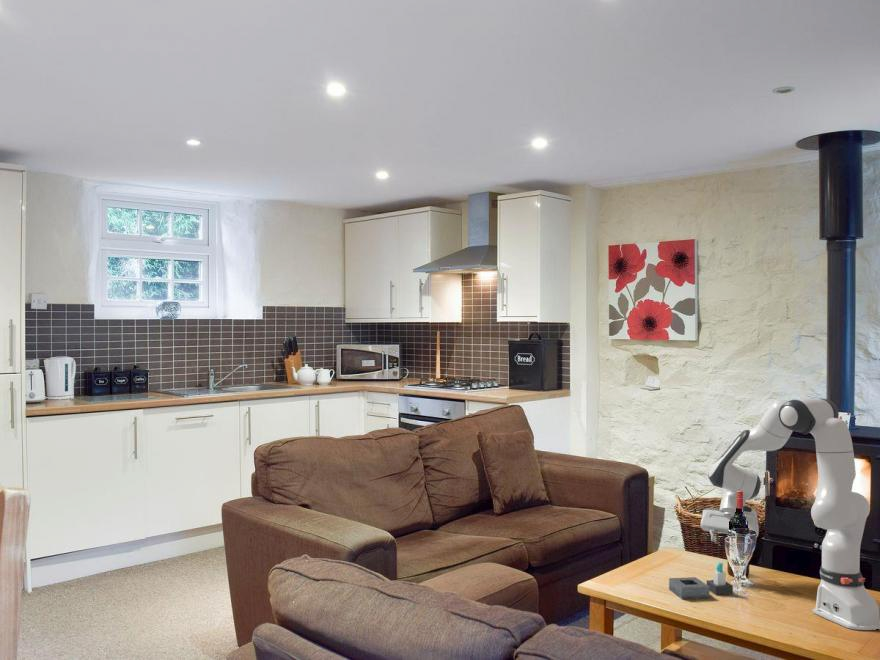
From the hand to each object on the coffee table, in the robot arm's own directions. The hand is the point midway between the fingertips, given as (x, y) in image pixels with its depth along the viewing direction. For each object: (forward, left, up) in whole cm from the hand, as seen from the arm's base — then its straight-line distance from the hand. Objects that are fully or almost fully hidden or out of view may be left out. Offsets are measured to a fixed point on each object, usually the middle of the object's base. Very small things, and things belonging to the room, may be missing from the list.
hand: (726, 542), depth 276 cm
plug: (-9, +7, -15) cm, 19 cm away
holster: (-9, +7, -15) cm, 19 cm away
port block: (-10, +19, -15) cm, 26 cm away
